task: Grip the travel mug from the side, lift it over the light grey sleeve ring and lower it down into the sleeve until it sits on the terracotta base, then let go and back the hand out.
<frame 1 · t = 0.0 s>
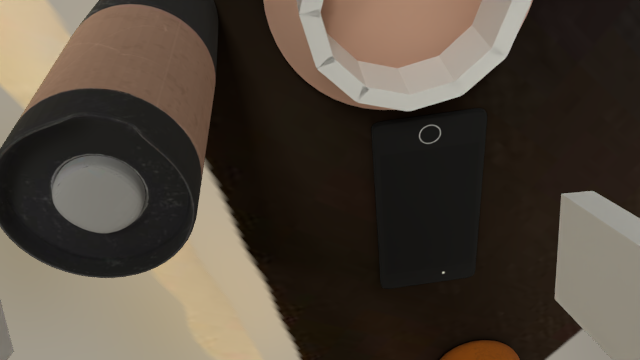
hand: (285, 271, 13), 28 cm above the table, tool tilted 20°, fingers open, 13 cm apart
travel mug: (163, 15, 38), on the table
cell phone: (425, 201, 50), on the table
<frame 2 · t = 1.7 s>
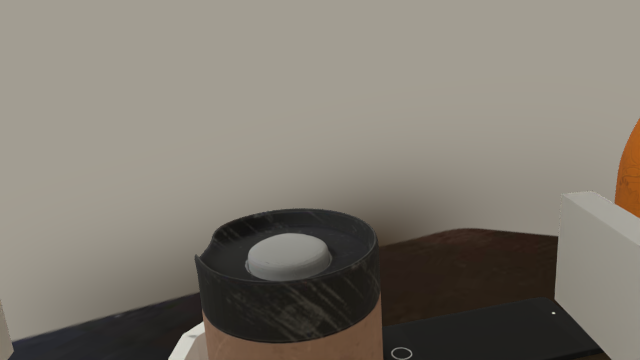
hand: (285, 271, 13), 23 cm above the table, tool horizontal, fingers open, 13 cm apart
cell phone: (483, 348, 50), on the table
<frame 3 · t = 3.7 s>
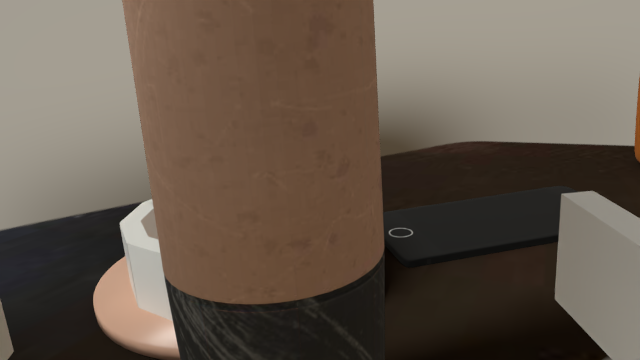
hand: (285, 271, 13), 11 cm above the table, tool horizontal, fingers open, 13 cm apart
cell phone: (495, 231, 43), on the table
sleeve: (242, 278, 37), on the table
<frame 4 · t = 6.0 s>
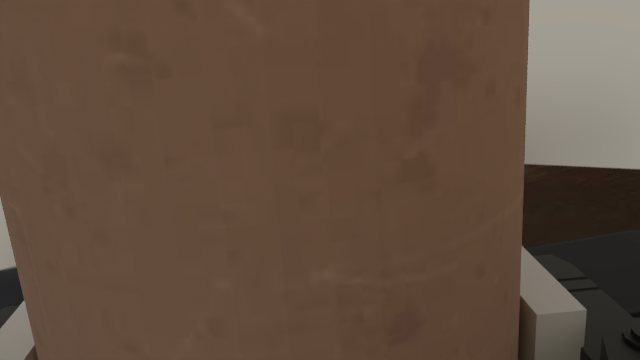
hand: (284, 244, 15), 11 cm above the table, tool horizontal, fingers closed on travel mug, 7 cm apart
cell phone: (565, 294, 34), on the table
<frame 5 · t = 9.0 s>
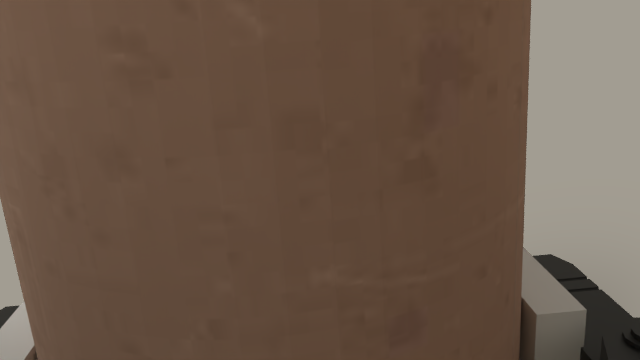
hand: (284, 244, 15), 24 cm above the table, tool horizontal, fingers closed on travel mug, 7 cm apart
when the fingers open (13 cm above the table, at t = 12.3 s): travel mug drops 1 cm, resting on sleeve.
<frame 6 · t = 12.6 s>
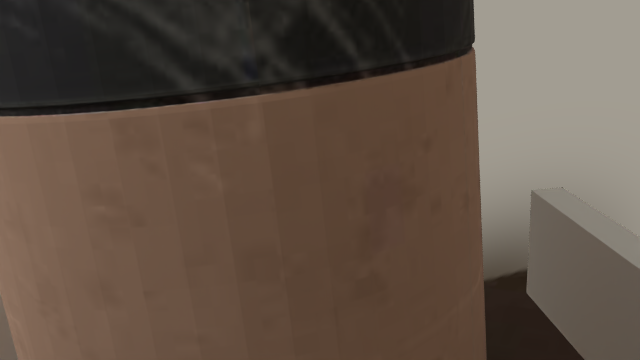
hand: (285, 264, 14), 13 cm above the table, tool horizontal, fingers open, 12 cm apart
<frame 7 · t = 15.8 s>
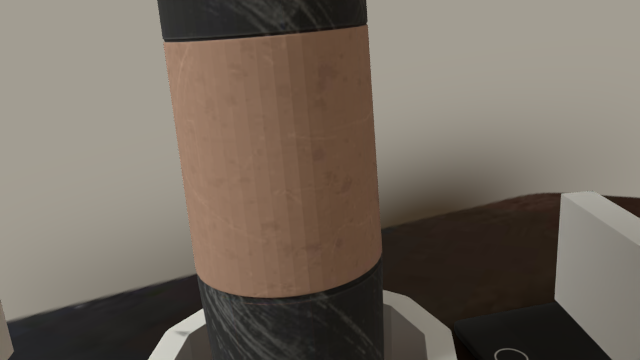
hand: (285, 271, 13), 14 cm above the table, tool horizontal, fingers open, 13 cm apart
cell phone: (631, 350, 33), on the table
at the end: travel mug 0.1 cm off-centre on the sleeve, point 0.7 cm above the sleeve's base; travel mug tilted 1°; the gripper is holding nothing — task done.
